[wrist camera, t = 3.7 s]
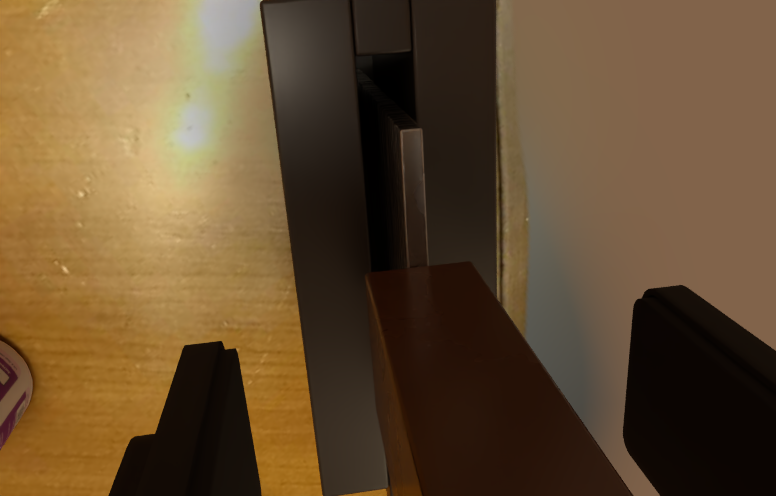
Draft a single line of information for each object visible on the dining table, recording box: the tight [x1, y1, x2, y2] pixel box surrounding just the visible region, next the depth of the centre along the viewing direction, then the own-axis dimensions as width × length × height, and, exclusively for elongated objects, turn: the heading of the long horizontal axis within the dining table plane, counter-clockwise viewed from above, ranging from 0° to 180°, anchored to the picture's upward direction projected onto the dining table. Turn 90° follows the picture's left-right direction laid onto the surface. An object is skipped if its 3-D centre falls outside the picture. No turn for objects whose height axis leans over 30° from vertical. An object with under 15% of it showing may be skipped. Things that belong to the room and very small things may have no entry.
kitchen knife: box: [356, 69, 633, 496], centre depth 14 cm, size 8×2×18 cm, turn 4°
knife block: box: [260, 0, 497, 496], centre depth 21 cm, size 15×5×14 cm, turn 4°
